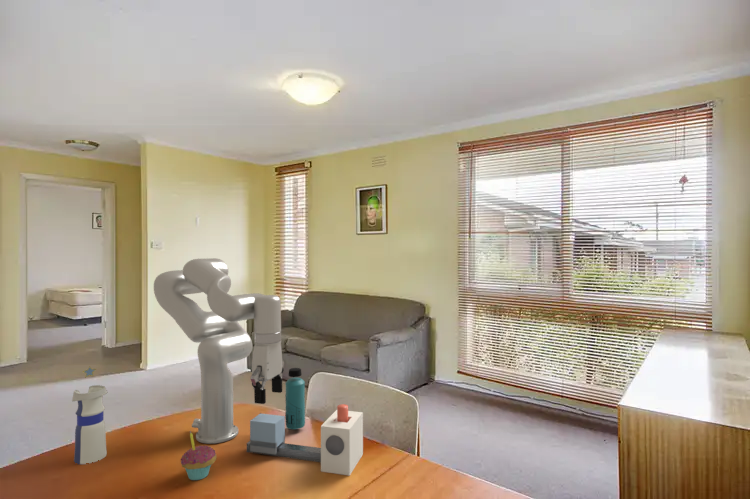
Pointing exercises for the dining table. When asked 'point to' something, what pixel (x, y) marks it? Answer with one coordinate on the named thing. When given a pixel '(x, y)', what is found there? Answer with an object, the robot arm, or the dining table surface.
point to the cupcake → (198, 460)
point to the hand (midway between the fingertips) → (268, 397)
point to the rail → (294, 452)
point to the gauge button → (342, 413)
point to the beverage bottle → (295, 400)
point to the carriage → (267, 433)
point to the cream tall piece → (90, 424)
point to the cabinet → (341, 443)
